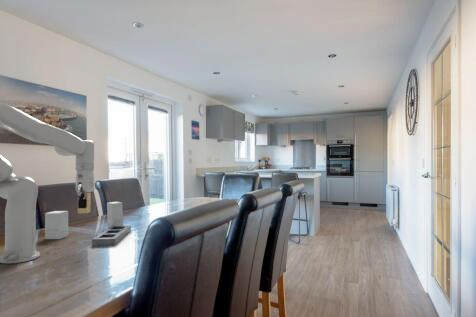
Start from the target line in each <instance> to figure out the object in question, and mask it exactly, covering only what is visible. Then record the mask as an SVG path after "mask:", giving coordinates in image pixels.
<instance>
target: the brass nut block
mask: <svg viewBox="0 0 476 317" xmlns="http://www.w3.org/2000/svg"><path fill="white" fill-rule="evenodd" d="M83 195H84V194H83ZM91 198H92V193H91V192H86V197H85V199H86V208H78V207H77V214H89V213H91V210H92V209H91V208H92V207H91V204H92V199H91Z"/></svg>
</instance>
